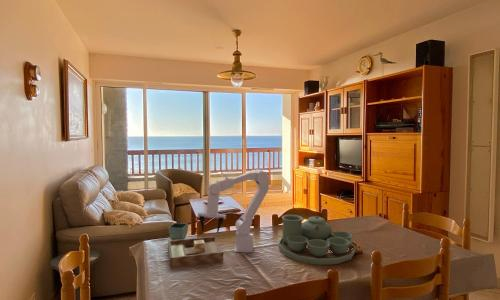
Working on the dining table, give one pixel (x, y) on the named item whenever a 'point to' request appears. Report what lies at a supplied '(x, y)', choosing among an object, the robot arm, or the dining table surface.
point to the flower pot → (178, 231)
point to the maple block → (199, 245)
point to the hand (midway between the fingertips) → (210, 231)
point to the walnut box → (193, 252)
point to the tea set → (314, 241)
